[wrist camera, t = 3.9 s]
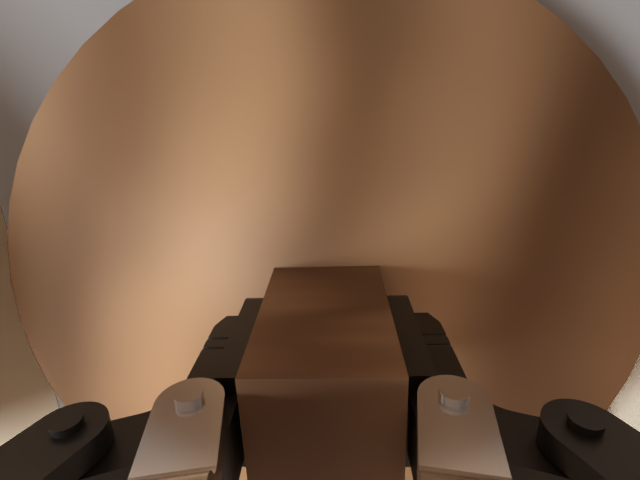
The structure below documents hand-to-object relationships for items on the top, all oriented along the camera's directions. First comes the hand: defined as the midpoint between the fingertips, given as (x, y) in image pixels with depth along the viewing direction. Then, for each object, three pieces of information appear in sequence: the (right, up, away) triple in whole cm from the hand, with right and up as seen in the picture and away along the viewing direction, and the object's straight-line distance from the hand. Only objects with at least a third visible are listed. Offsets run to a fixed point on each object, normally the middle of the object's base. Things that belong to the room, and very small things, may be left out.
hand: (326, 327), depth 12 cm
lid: (0, +1, +2) cm, 2 cm away
